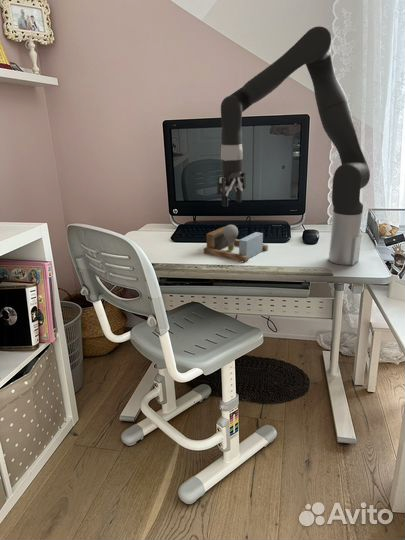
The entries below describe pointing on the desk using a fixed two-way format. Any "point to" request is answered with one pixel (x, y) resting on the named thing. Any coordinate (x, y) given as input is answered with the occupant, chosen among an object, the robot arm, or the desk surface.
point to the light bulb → (230, 235)
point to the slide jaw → (251, 244)
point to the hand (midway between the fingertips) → (231, 204)
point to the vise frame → (223, 246)
